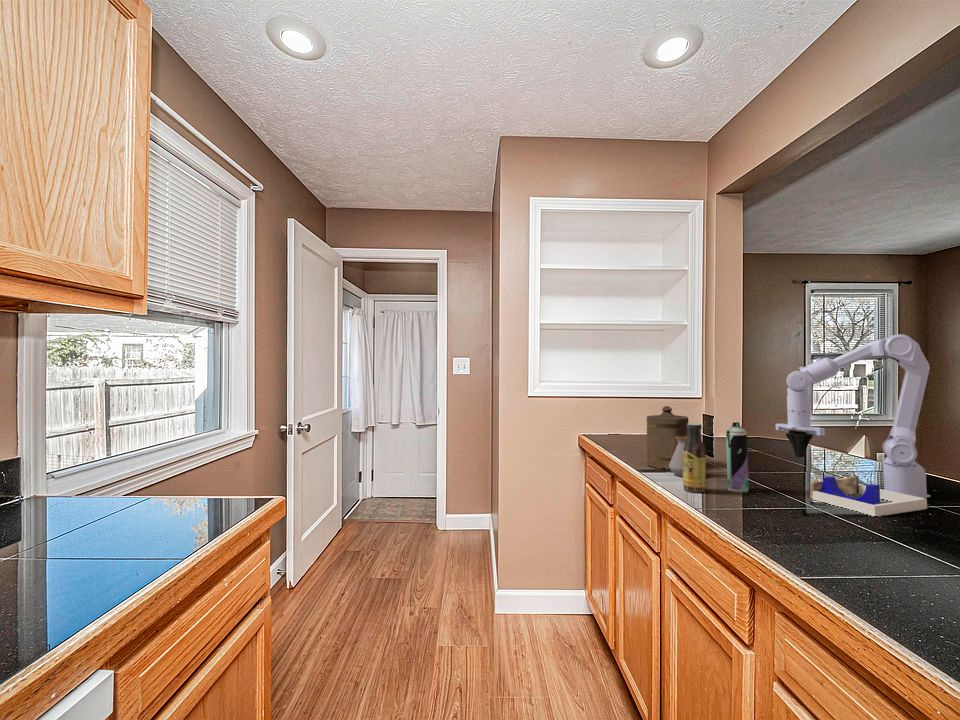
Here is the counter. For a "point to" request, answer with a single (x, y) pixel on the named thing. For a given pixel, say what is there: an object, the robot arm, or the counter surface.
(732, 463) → the spray can
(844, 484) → the board
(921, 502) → the cream square rimmed piece
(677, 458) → the coffee pot
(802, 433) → the robot arm
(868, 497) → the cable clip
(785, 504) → the counter surface
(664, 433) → the wooden container
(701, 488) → the sauce bottle
